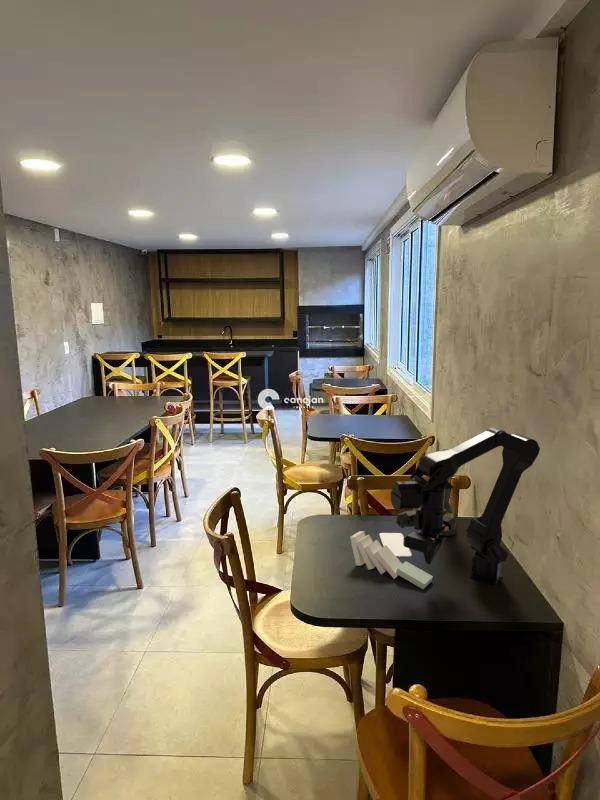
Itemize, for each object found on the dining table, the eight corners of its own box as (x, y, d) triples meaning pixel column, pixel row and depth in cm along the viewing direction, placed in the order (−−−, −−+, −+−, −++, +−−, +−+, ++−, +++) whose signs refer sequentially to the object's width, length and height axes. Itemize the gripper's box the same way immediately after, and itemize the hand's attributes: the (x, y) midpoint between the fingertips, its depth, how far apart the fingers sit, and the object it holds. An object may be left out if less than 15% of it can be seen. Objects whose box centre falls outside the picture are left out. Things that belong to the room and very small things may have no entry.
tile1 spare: (432, 576, 138) (405, 561, 143) (424, 584, 135) (397, 568, 139) (431, 581, 139) (404, 566, 143) (423, 589, 135) (395, 573, 139)
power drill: (459, 546, 159) (464, 466, 155) (428, 543, 161) (432, 464, 156) (453, 520, 179) (458, 448, 174) (426, 517, 180) (430, 446, 176)
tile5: (370, 558, 150) (364, 531, 150) (361, 565, 146) (354, 537, 146) (365, 558, 151) (359, 531, 151) (356, 565, 147) (349, 537, 147)
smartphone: (387, 555, 152) (378, 532, 167) (386, 558, 152) (378, 535, 167) (412, 555, 152) (402, 532, 167) (412, 558, 152) (401, 535, 167)
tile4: (382, 561, 147) (369, 534, 149) (372, 568, 144) (360, 540, 145) (377, 562, 148) (365, 536, 150) (368, 569, 145) (355, 542, 146)
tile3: (394, 564, 145) (376, 539, 148) (385, 571, 141) (367, 545, 144) (390, 567, 146) (373, 542, 148) (381, 574, 142) (363, 548, 144)
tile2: (406, 568, 143) (386, 544, 146) (397, 575, 139) (376, 551, 142) (402, 571, 144) (382, 548, 147) (393, 579, 140) (373, 554, 143)
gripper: (418, 488, 145) (415, 542, 148) (385, 508, 131) (382, 567, 133) (458, 498, 138) (454, 553, 141) (427, 520, 124) (424, 582, 127)
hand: (428, 563), depth 136 cm, fingers closed
